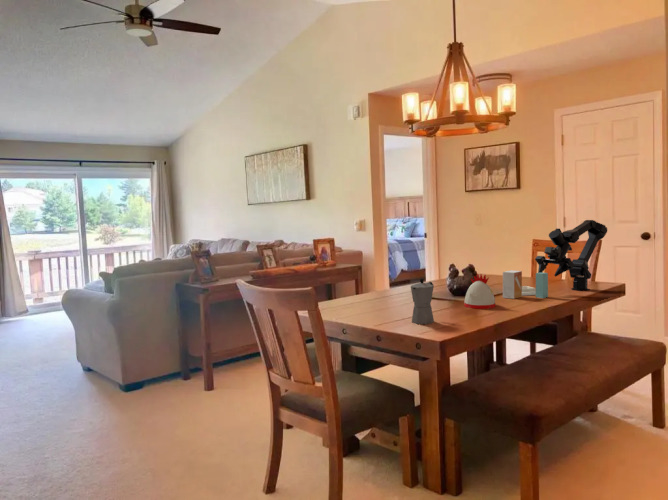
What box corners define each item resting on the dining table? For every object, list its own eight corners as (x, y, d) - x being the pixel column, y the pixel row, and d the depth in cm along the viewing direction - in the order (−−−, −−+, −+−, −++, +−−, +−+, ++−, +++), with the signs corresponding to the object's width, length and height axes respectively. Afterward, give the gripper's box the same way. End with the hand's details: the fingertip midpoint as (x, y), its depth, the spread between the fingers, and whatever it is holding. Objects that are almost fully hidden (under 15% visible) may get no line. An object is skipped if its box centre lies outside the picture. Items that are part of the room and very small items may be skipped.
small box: (514, 299, 255) (514, 272, 254) (502, 297, 259) (502, 271, 258) (522, 296, 260) (522, 270, 259) (510, 295, 265) (510, 270, 264)
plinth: (529, 290, 276) (529, 285, 276) (541, 294, 264) (541, 288, 264) (507, 292, 274) (507, 286, 274) (518, 295, 263) (518, 290, 262)
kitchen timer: (490, 309, 232) (489, 276, 231) (460, 307, 240) (459, 275, 239) (498, 304, 244) (498, 272, 243) (470, 302, 251) (469, 271, 250)
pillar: (540, 296, 260) (540, 272, 259) (547, 297, 256) (547, 273, 255) (535, 297, 258) (535, 273, 257) (542, 298, 254) (542, 273, 253)
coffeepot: (424, 326, 206) (423, 281, 204) (404, 323, 212) (403, 279, 210) (443, 319, 217) (442, 276, 216) (423, 316, 223) (422, 275, 222)
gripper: (537, 240, 267) (523, 263, 263) (570, 241, 252) (556, 266, 247) (547, 254, 272) (533, 277, 267) (580, 256, 257) (566, 281, 252)
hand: (546, 275), depth 258 cm, fingers open, 9 cm apart
